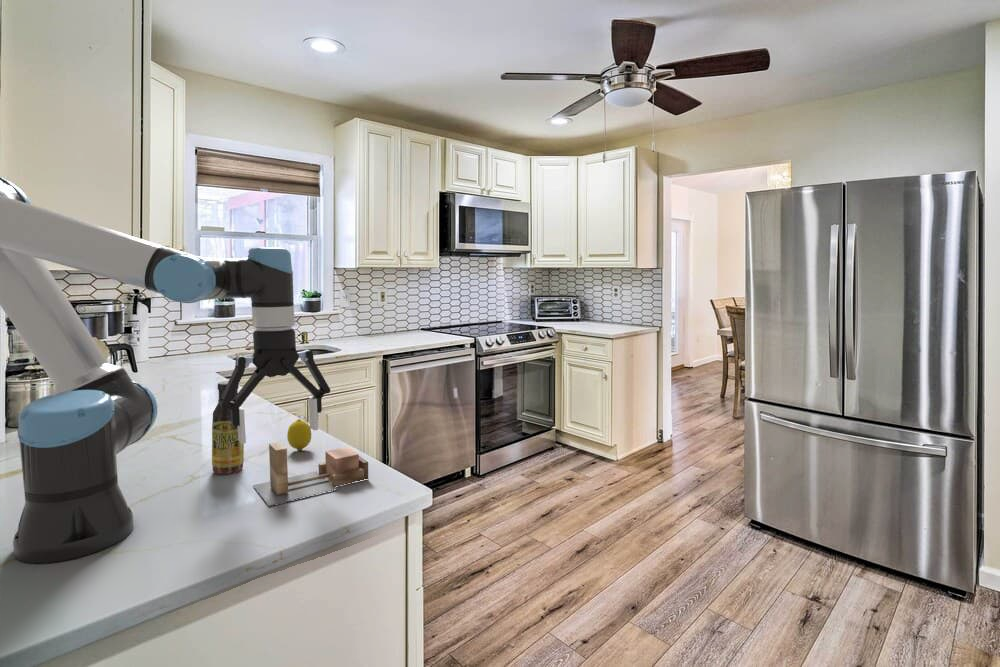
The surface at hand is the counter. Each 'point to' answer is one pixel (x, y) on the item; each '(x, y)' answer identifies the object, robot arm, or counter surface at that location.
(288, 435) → the lemon
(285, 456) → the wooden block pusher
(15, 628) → the counter surface
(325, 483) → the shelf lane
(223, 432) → the sauce bottle
